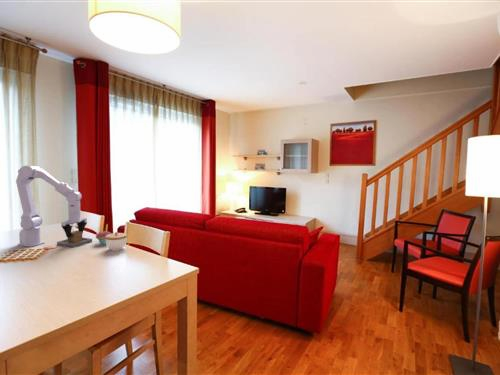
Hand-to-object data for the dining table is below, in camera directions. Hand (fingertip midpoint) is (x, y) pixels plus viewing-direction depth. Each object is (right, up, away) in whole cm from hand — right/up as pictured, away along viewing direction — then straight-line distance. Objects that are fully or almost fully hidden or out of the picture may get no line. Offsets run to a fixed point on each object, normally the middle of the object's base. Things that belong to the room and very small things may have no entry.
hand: (74, 235), depth 154 cm
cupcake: (+16, -5, +2) cm, 17 cm away
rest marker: (-7, -5, -9) cm, 13 cm away
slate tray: (0, -4, 0) cm, 4 cm away
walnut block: (0, -4, 0) cm, 4 cm away
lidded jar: (+28, -6, -8) cm, 29 cm away
